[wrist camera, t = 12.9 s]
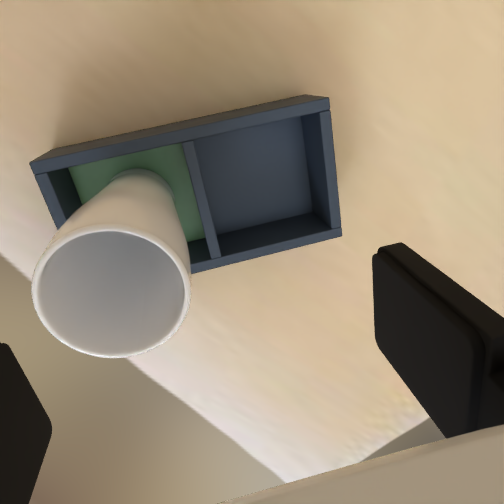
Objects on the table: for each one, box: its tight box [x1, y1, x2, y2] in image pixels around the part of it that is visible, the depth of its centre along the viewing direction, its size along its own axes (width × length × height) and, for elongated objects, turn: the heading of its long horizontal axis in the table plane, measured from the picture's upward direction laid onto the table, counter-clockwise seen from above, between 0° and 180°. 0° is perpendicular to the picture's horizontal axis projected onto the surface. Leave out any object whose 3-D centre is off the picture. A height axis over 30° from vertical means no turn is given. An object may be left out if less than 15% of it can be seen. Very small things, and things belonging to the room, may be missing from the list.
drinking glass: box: [31, 168, 191, 358], centre depth 24 cm, size 7×7×15 cm
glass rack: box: [29, 95, 342, 274], centre depth 29 cm, size 10×19×5 cm, turn 101°
